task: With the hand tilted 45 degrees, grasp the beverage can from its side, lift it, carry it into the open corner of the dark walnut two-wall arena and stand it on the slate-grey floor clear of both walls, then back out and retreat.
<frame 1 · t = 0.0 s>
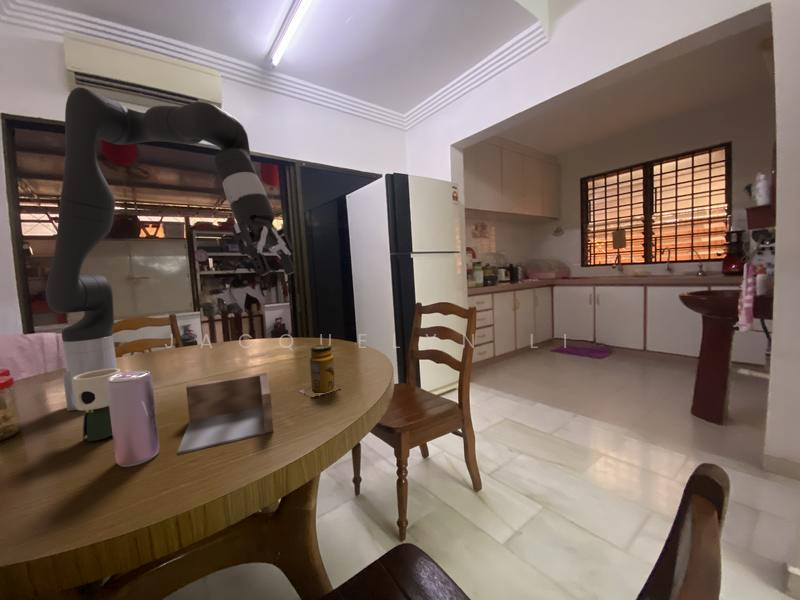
hand: (278, 273, 66), 31 cm above the table, tool tilted 20°, fingers open, 8 cm apart
condiment: (320, 391, 86), on the table
character mug: (104, 436, 65), on the table
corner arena: (230, 425, 67), on the table
beverage can: (139, 459, 56), on the table
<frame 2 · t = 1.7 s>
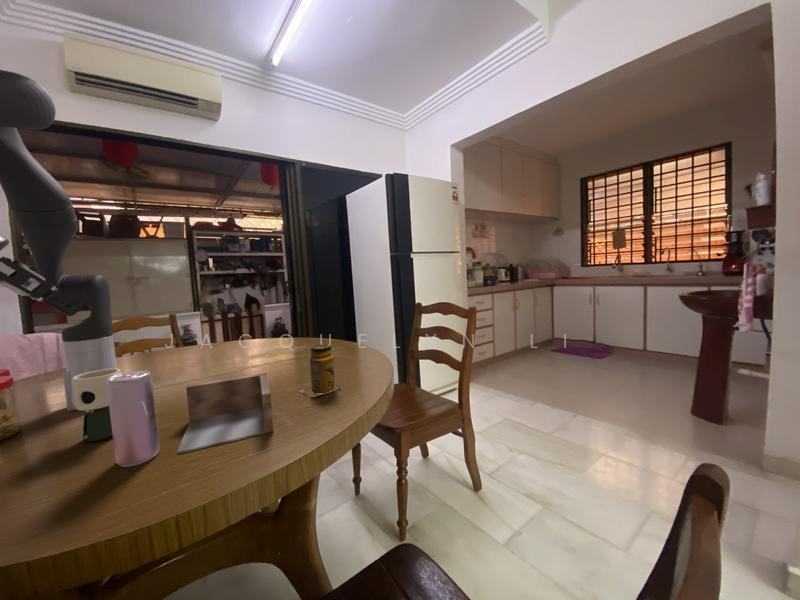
hand: (73, 310, 52), 27 cm above the table, tool tilted 45°, fingers open, 8 cm apart
nothing on the table moved.
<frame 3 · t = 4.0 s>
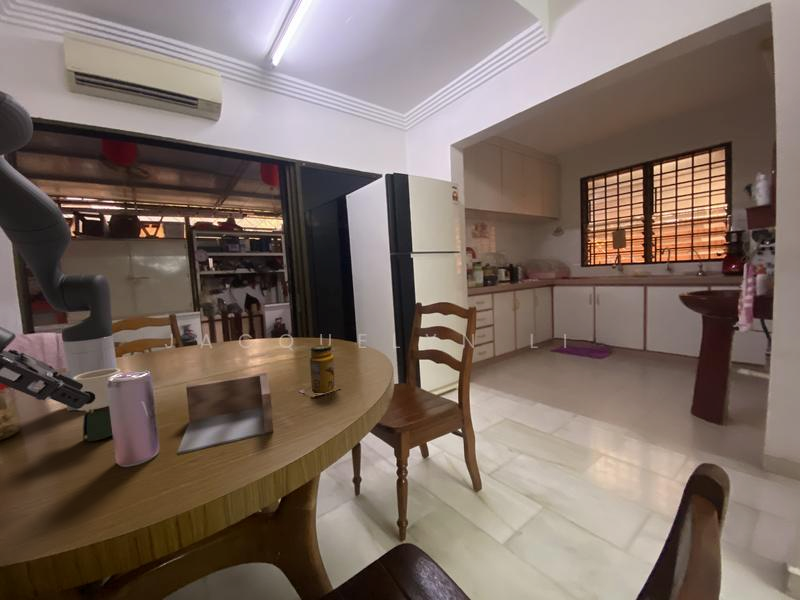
hand: (81, 396, 51), 13 cm above the table, tool tilted 45°, fingers open, 8 cm apart
nothing on the table moved.
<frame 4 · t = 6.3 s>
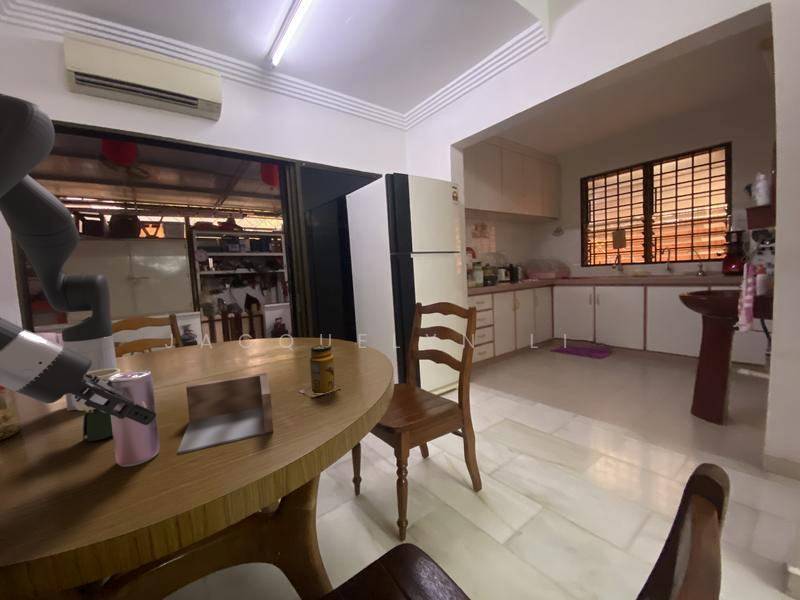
hand: (146, 414, 57), 7 cm above the table, tool tilted 45°, fingers closed on beverage can, 5 cm apart
beverage can: (139, 459, 56), on the table, touching gripper
everything else where it was.
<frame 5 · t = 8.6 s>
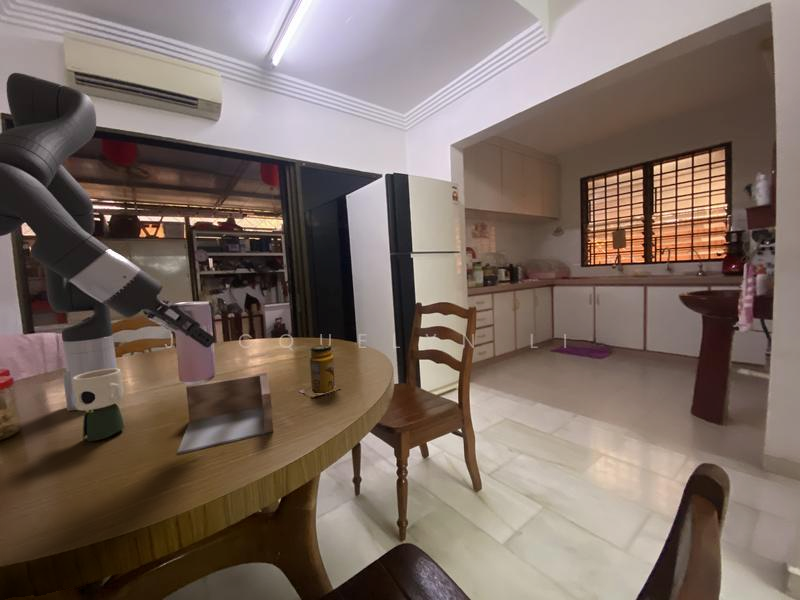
hand: (205, 341, 63), 19 cm above the table, tool tilted 45°, fingers closed on beverage can, 5 cm apart
beverage can: (198, 380, 62), point 11 cm above the table, touching gripper
everything else where it was.
when the fingers open (8 cm above the table, at t = 11.3 s): beverage can stays where it is, resting on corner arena.
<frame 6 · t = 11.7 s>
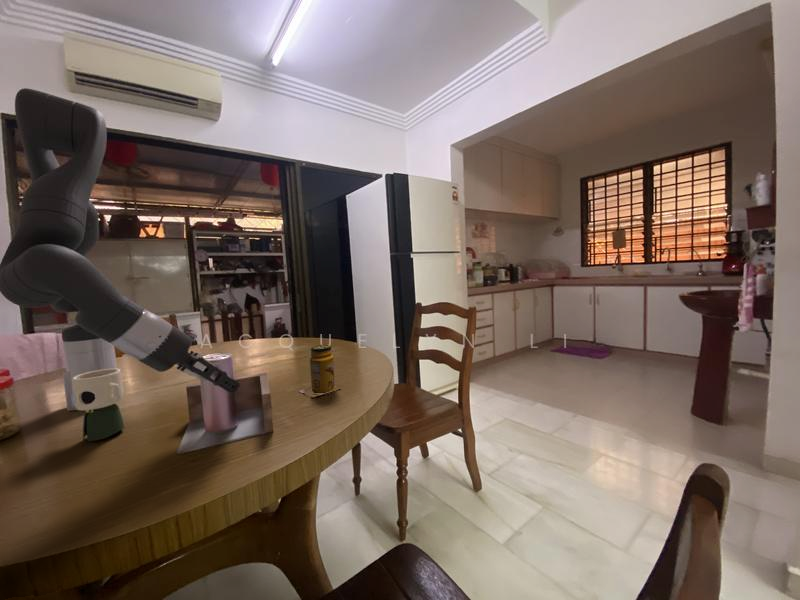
hand: (227, 384, 66), 9 cm above the table, tool tilted 45°, fingers open, 8 cm apart
beverage can: (222, 429, 65), resting on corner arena
everything else where it was.
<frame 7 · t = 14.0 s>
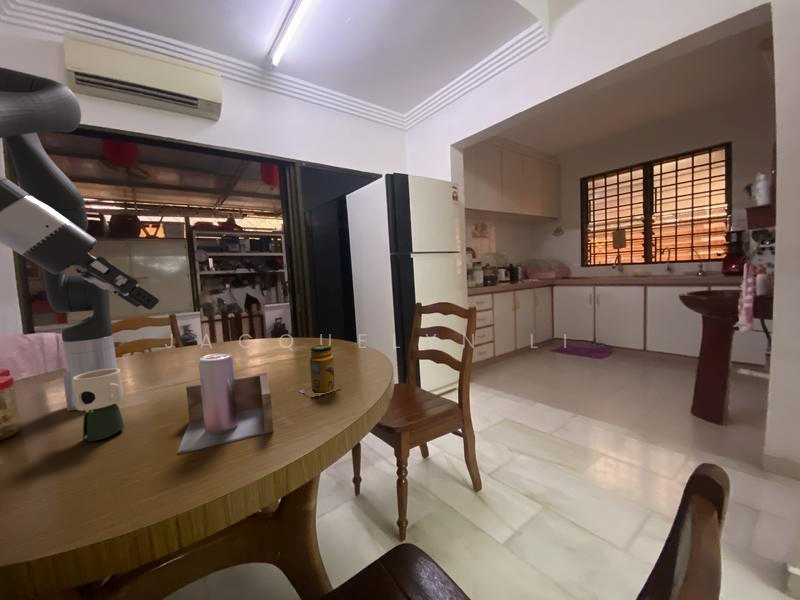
hand: (148, 304, 57), 27 cm above the table, tool tilted 45°, fingers open, 8 cm apart
nothing on the table moved.
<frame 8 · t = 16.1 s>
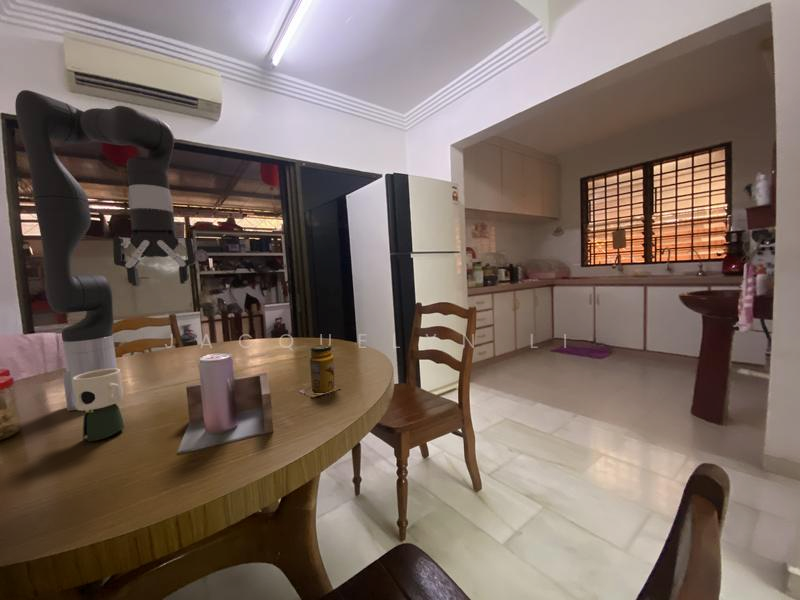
hand: (160, 284, 71), 30 cm above the table, tool pointing down, fingers open, 8 cm apart
nothing on the table moved.
at the end: beverage can inside the target area on the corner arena (2.0 cm from its centre), point 0.2 cm above the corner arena's base; beverage can tilted 0°; the gripper is holding nothing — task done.
